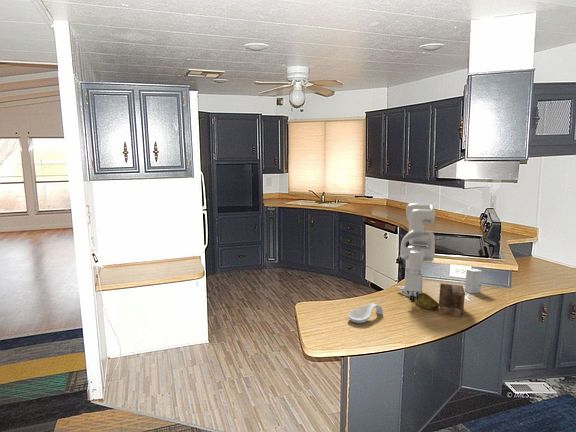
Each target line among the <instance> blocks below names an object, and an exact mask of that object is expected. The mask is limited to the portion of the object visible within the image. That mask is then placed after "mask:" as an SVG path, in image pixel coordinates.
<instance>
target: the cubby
mask: <svg viewBox="0 0 576 432" xmlns="http://www.w3.org/2000/svg"><path fill="white" fill-rule="evenodd" d="M465 298H466V291H465V287H464V286H463V285H460V284H459V285H458V284H450V283H449V284H448V283H442V282H441V283H440V285H439V297H438V304H439V315H445V316H446V315H447V316H451V317H453V316H454V317H460V318H462V317H463V316H464V310H465V309H464V308H465V307H464V306H465ZM453 307H454V308H453Z"/></svg>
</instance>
